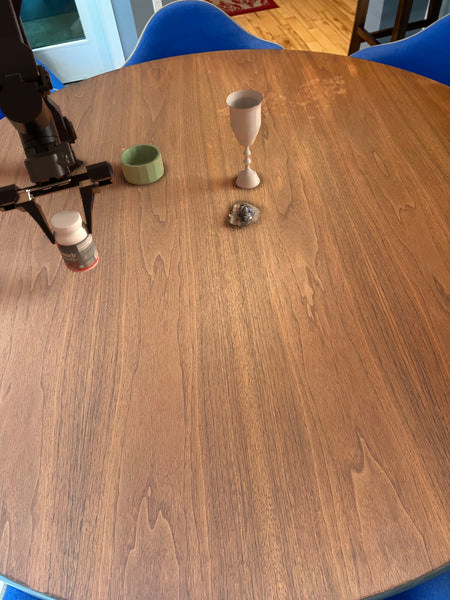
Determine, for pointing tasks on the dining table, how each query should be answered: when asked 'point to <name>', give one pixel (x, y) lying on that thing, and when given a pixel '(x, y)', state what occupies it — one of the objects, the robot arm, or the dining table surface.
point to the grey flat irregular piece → (243, 214)
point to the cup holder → (142, 164)
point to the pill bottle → (74, 241)
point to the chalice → (245, 129)
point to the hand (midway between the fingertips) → (72, 239)
